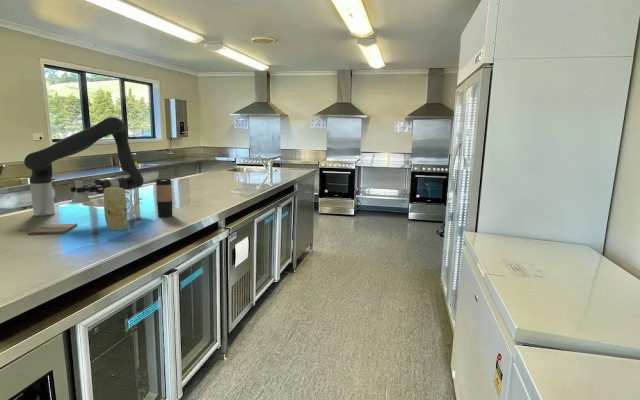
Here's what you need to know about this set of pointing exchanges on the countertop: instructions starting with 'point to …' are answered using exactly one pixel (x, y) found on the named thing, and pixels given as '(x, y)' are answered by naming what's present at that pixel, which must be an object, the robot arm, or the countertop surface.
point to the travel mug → (164, 197)
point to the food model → (115, 208)
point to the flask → (80, 194)
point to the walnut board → (52, 229)
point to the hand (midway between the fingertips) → (74, 190)
